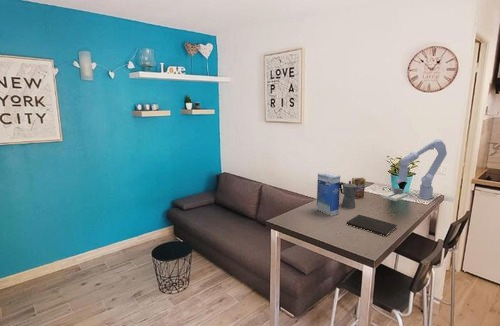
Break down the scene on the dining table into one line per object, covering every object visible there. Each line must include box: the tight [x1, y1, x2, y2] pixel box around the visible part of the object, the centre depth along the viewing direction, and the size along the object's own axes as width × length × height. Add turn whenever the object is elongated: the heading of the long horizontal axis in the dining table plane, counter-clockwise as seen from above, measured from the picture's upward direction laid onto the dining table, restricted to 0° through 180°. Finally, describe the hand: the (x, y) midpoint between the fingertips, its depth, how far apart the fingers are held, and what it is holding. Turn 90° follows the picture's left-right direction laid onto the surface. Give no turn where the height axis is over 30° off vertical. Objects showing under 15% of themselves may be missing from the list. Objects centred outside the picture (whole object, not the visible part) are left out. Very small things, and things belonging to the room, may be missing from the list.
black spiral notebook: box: [346, 214, 399, 237], centre depth 168 cm, size 16×23×2 cm
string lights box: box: [316, 171, 341, 217], centre depth 188 cm, size 13×8×26 cm, turn 32°
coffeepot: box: [340, 180, 358, 209], centre depth 201 cm, size 15×9×18 cm, turn 33°
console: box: [380, 190, 408, 202], centre depth 218 cm, size 17×11×2 cm, turn 125°
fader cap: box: [392, 187, 404, 194], centre depth 220 cm, size 4×5×4 cm
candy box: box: [351, 177, 366, 199], centre depth 217 cm, size 9×4×15 cm, turn 98°
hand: (401, 190), depth 223 cm, fingers closed
